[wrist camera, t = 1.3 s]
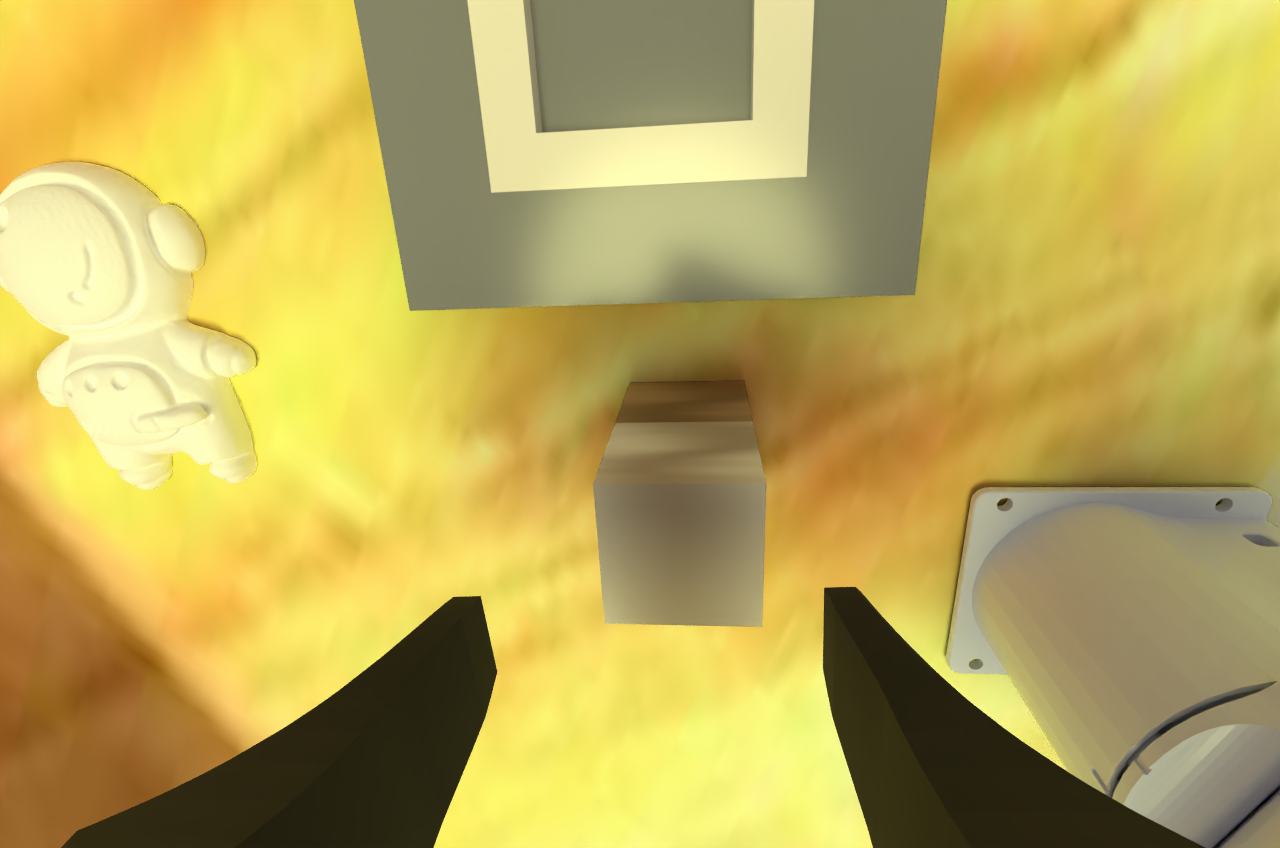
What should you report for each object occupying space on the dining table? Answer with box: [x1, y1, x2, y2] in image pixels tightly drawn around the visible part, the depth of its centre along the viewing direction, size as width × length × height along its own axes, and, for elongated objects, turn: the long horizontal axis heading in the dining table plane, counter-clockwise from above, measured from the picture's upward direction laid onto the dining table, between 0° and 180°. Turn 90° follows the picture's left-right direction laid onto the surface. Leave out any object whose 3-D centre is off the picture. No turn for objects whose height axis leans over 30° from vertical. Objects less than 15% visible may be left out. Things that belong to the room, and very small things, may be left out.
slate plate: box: [354, 0, 947, 311], centre depth 17 cm, size 16×16×2 cm
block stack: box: [593, 380, 766, 627], centre depth 19 cm, size 4×4×8 cm
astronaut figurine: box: [0, 162, 257, 490], centre depth 22 cm, size 9×12×3 cm
